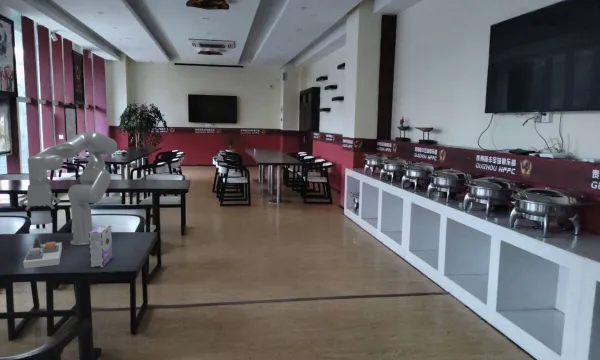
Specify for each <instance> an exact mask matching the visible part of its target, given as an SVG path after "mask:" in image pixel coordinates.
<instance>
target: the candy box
mask: <svg viewBox="0 0 600 360" xmlns="http://www.w3.org/2000/svg"><path fill="white" fill-rule="evenodd" d="M89 245H90V251H89V255H90V256H89V257H90V258H89V261H90V268H105V266H106V265H107V264H108V263H109V262H110V261H111V260H112V259H113V258H114V257H113V256H114V255H113V254H114V253H113V238H112V225H111V224H105V225H104V224H101V225H98V226H96V227H94V229H93V228H92V231H90V232H89V244H88V246H89Z"/></svg>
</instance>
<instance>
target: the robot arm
mask: <svg viewBox="0 0 600 360" xmlns="http://www.w3.org/2000/svg"><path fill="white" fill-rule="evenodd" d="M86 149H87V153H88V156H89V157H88V159H89V160H88V162H87V164H86V166H85V168H84V169H83V171H82V172H81V175H80V177H79V180H80V183H81V184H74V185H72V186H70V187H69V189H68V192H67V195H68V199H69V203H70V208H71V223H72V236H73V237H72V239H71V240H70V245H72V246H85V245H89V232H90V231H92V230H93V221H92V220H93V219H92V218H93V217H92V216H93V215H92V208H91V206H90V204H95V203H99V202H100V201H101V200H102V199H103V196H104V195H105V193H106V191H107V190H108V187H109V186H110V184H111V179H112V176H111V174H110V171H109V170H107V169H104V168H105V167H106V163H105V162H106V161H105V159H104V157H103V155H113V154H115V153H116V152H117V150H118V144H117V142H116V140H115V139H114V138H111V137H110V136H107V135H105V134H102V133H100V132H97V131H82V132H79V133H77V134H76V135H74V136H72V137H71V138H69V139H68V140H66V141H64V142H62V143H59V144H56V145H53V146H49V147H47V148H45V149H43V150H41V151H39V152H38V153H36V154H35V155H33V156H29V157H28V158H27V169H28V180H29V182H28V183H29V184H28V185H27V191H26V192H27V194H26V197H25V198H23V199H21V200H19V204H20V206H21V208H23V209H24V210H25V211H26V217H27V218H28V220H29V219H31V218H32V209H31V207H41V206H43V207H44V206H48V207H50V217H51V218H53V217H54V216H55V215H56V212H55V210H56V209H55V208H56V207H57V206H58V205H59V203H60V202H61V198H59V197H56V196H53V194H52V193H53V192H52V187H51V184H50V183H51V182H52V179H51V178H48V171H57V170H60V169H61V168H62V167H63V166H64V159H69V158H73V157H76V156H78V155H79V154H80V153H82V152H83V151H85V150H86ZM54 201H55V203H53V202H54ZM25 202H27V205H26V204H25Z"/></svg>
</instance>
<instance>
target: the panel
mask: <svg viewBox="0 0 600 360" xmlns="http://www.w3.org/2000/svg"><path fill="white" fill-rule="evenodd" d="M55 243H56V247H55V248H54V249H46V245H45V244H46V243H43V244H42V243H41V247H40V254H39V255H35V256H29V249H32V248H33V245H32V244H31V245H30V246H29V248H28V251H27V253H26V254H25V257H24V260H23V262H22V263H23V270H25V269H33V268H41V267H43V268H44V267H52V266H58V265H60V261H61V257H62V250H63V243H62V242H55Z"/></svg>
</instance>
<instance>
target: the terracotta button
mask: <svg viewBox="0 0 600 360" xmlns="http://www.w3.org/2000/svg"><path fill="white" fill-rule="evenodd" d="M56 243H57V242H56V241H48V242H47V241H46V242H45V243H44V244H45V245H46V249H54V248H55V247H56Z"/></svg>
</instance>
